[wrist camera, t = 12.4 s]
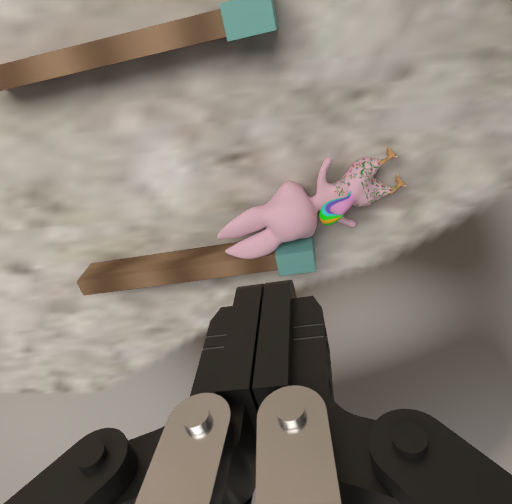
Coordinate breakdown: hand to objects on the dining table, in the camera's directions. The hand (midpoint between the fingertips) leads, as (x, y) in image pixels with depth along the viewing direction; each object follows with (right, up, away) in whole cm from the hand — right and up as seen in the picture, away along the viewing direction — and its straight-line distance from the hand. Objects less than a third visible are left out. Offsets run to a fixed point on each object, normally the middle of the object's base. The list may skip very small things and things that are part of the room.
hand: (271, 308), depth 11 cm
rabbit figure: (+4, +6, +23) cm, 24 cm away
